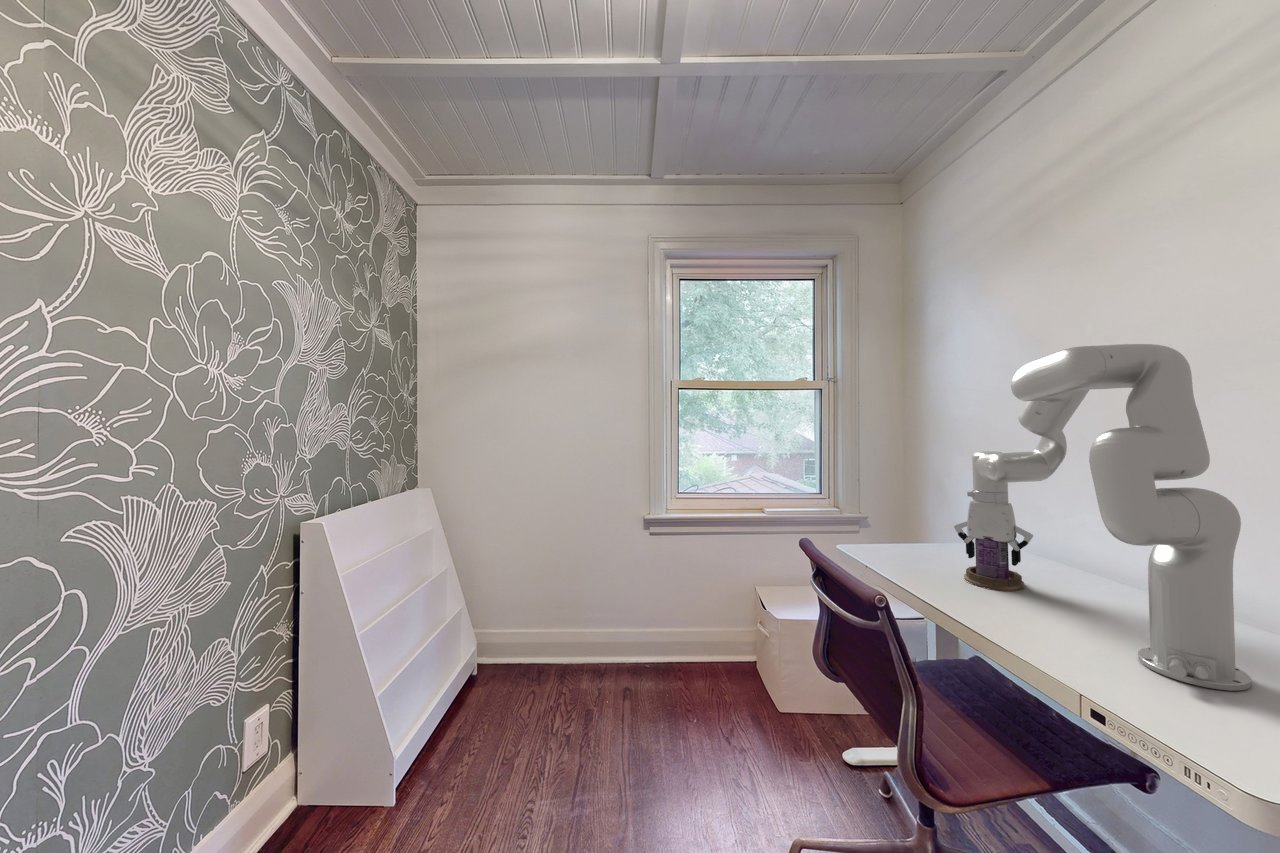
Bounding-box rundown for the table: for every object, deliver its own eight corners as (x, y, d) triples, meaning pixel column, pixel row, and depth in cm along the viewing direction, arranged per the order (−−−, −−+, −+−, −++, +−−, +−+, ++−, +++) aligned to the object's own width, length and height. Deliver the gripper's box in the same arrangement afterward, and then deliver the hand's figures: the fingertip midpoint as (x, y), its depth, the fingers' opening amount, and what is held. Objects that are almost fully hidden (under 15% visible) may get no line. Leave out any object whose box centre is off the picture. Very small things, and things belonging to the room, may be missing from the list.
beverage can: (1007, 577, 127) (1006, 533, 127) (1010, 585, 121) (1009, 539, 121) (975, 573, 131) (974, 530, 131) (977, 581, 125) (975, 536, 125)
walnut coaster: (1017, 594, 117) (1017, 584, 117) (957, 582, 127) (956, 572, 127) (1030, 582, 125) (1029, 572, 125) (972, 571, 135) (972, 562, 135)
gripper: (948, 496, 130) (951, 557, 130) (1028, 502, 117) (1030, 571, 117) (958, 492, 135) (960, 552, 135) (1035, 498, 122) (1037, 564, 122)
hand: (992, 560), depth 126 cm, fingers open, 9 cm apart
